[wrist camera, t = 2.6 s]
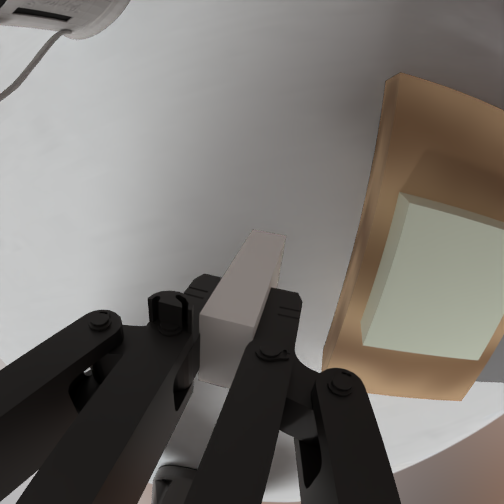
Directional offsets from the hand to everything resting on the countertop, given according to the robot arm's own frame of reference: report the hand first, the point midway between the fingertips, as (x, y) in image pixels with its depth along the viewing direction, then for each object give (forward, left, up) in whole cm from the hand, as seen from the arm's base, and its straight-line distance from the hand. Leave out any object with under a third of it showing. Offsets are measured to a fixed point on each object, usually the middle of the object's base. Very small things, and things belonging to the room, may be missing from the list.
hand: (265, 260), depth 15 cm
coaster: (0, -10, -3) cm, 10 cm away
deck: (0, -11, -7) cm, 13 cm away
